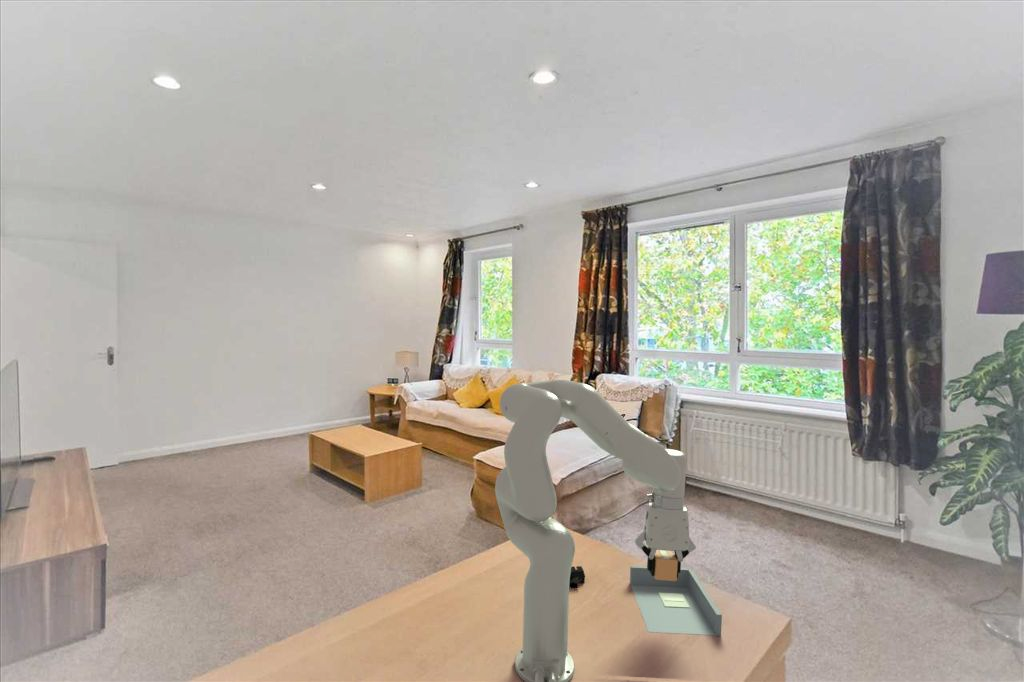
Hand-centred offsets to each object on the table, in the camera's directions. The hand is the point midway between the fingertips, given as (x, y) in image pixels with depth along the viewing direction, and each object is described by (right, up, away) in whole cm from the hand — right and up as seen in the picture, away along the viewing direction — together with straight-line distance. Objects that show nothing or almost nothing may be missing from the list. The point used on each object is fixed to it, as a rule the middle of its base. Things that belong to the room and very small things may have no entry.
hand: (663, 573), depth 119 cm
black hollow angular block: (-19, -12, +19) cm, 29 cm away
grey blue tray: (+4, -13, +7) cm, 15 cm away
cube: (0, -1, 0) cm, 1 cm away
